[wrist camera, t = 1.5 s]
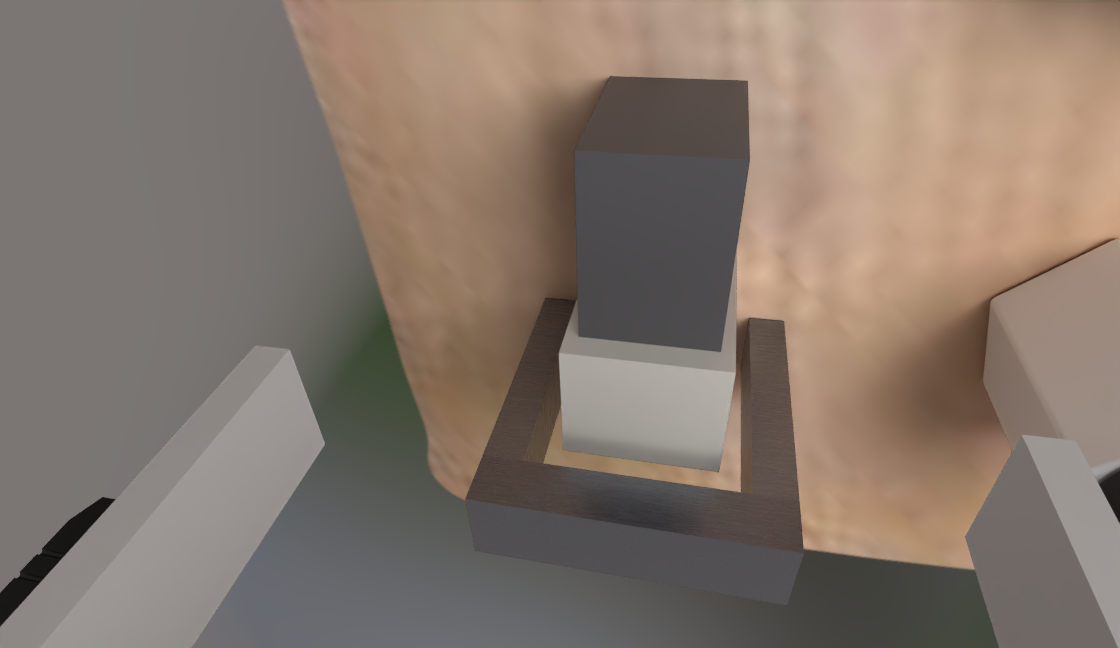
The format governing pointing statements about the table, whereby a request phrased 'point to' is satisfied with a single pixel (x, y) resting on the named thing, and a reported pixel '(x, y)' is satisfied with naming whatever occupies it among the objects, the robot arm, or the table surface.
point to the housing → (644, 487)
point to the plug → (656, 271)
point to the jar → (1062, 360)
